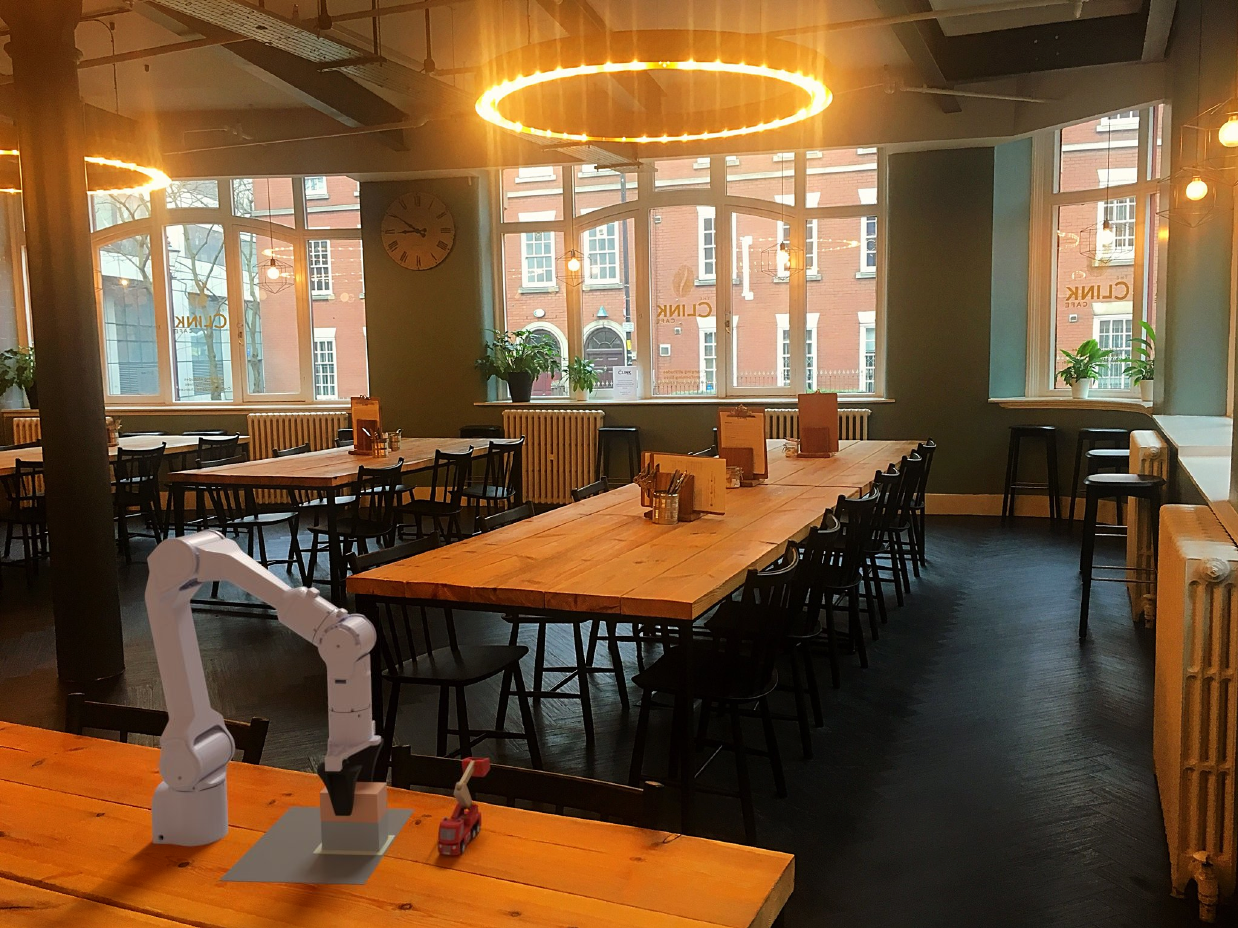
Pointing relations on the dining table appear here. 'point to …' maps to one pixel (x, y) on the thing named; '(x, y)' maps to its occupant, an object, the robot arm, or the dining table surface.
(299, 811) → the baseplate
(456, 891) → the dining table surface
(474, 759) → the toy fire truck
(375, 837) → the slate brick
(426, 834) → the dining table surface
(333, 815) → the terracotta brick
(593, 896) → the dining table surface
